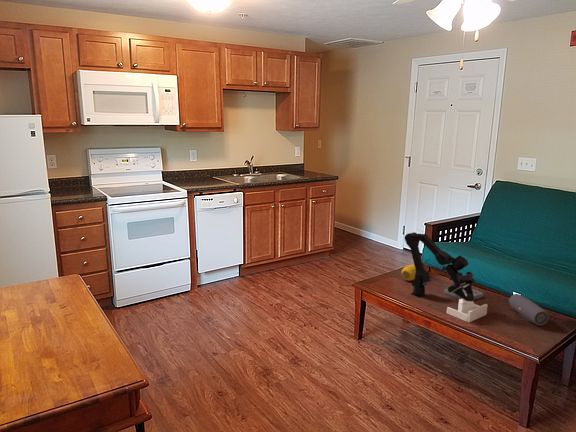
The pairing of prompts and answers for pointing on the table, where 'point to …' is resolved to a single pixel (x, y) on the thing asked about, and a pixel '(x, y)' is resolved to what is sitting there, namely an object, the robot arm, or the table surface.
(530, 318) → the bluetooth speaker
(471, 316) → the bay
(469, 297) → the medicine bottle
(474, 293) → the tray
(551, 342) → the table surface
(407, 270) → the lantern
